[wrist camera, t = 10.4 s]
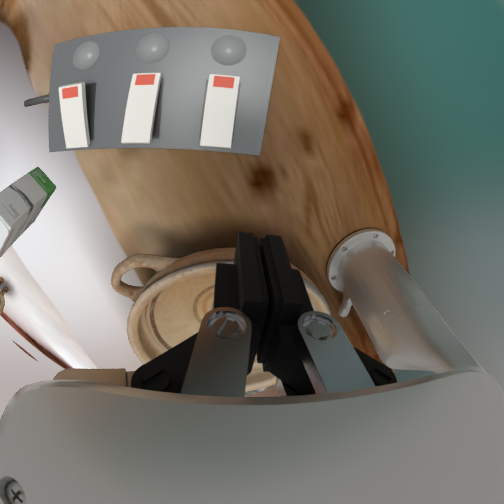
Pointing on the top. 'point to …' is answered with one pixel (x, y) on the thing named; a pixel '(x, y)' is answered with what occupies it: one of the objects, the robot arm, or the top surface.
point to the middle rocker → (141, 108)
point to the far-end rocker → (219, 111)
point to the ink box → (22, 205)
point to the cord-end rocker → (74, 115)
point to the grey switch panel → (164, 84)
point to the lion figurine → (0, 298)
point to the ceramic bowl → (183, 303)
